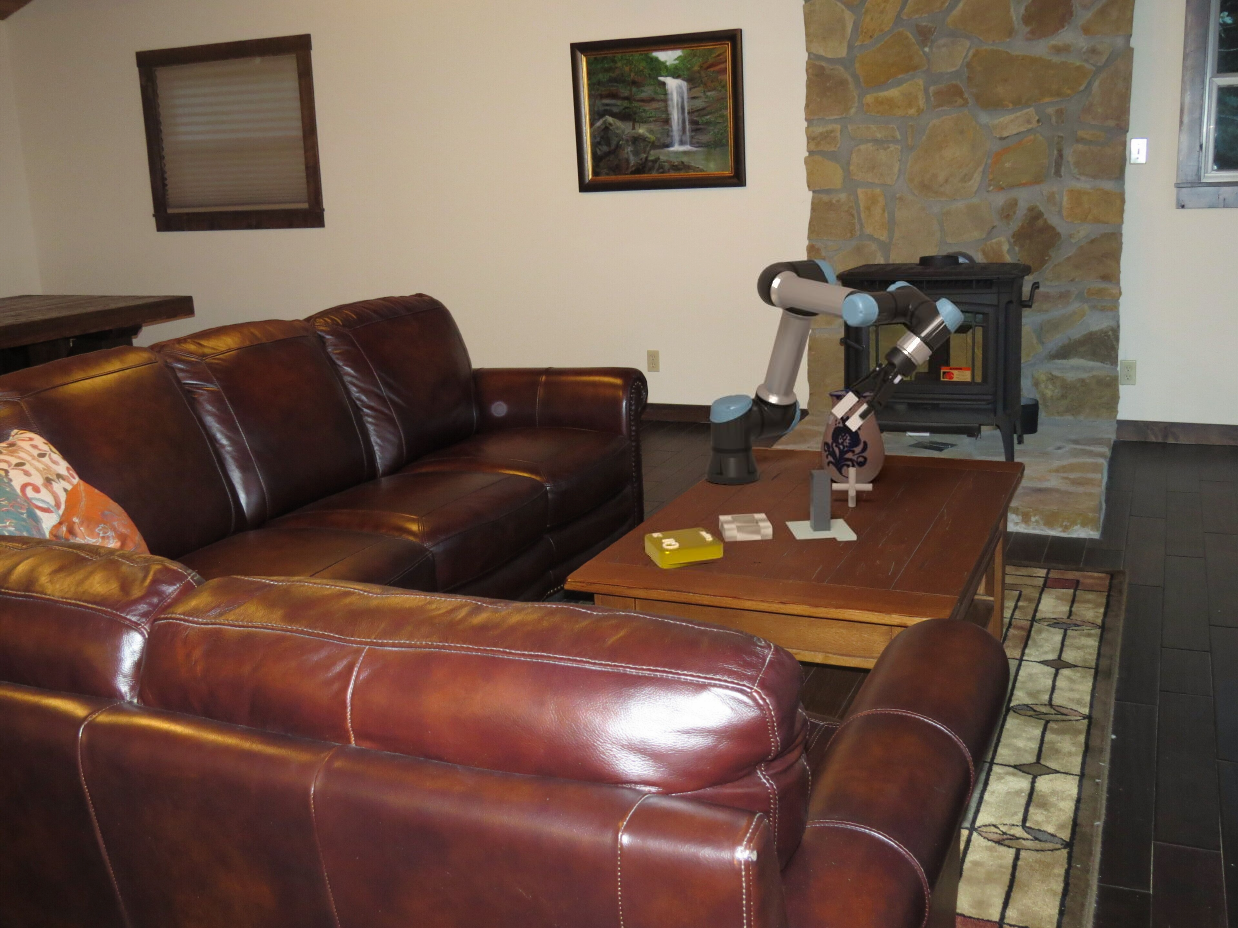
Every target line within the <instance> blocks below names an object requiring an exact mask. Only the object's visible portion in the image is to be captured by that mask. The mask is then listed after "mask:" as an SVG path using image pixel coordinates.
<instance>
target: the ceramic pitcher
mask: <svg viewBox="0 0 1238 928" xmlns="http://www.w3.org/2000/svg"><path fill="white" fill-rule="evenodd" d="M850 390H851V388H849V389H839V390H833V391H830V392H829V393H828V395H829V397H830V398H831V410H832V409H833V408H834V407H835V406H836V405H837V404H838V403H839V402H840V401H841V400H842V399H843V398H844V397H845V396H846V395H847V394H848V393H849V392H851V391H850ZM873 393H874V391H873V390H870V391H868V392H867V393H865V394H863V395H861V396H862V397H861V399H860V400H858V401H857V402H856V403H855V404H854V405H853V406H852V407H851V408H850V409H849V410H848V411H847V412H846V413H845V414H844V415H843V416H842V417H841V418H840V419H839V418H838V417H837V416H836V415H835V414H834V413H833V412H832V411H831V410H830V413H829V416H828V418H827V423H826V426H825V429H824V432H823V435H822V440H821V444H820V462H821V464H822V468H823V470H826V469H827V470H828V471H829V472H830V473H831V480H833V481H835V482H837V483H848V484H849V468H856V484H869V483H870V482H871V481H872V480H873V479H875V478H876V477H877V476H878V474H879V473H880V471H881V470H882V468H883V465H884V464H885V459H886V457H885V456H886V452H885V445H884V440H883V437H882V434H881V430H880V427H879V423H878V421H877V418H876V413H875V411H874V412H873V413H872V414H871V415H870V416H869V417H868V418H867V419H866V420H865V421H864V422H863V423H862V424H861V425H860V426H859V427H858V428H857V429H856V430H855V431H853V430H852V429H850V428H849V427H848V426H847V425H846V424H845V423H846V422H847V421H848V420H849V419H850V418H851V417H852V416H853V415H854V414H855V413H856V412H857V411H858V410H859V409H860V408H861V407H862V406H863V405H864V404H865V403H866V402H865V401H867V400H870V398H871V396H872V394H873ZM866 404H867V403H866ZM867 405H868V404H867Z"/></svg>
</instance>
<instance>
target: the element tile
mask: <svg viewBox="0 0 1238 928" xmlns="http://www.w3.org/2000/svg"><path fill="white" fill-rule="evenodd" d="M644 548H645V549H644V552H645V553H646V555H647V556H648V555H649V556H650V557H651V558H650V557H649V556H648V557H649V558H650V559H651V560H652V561H653V562H654V563H655V564H656V565H657V566H658V567H659V568H661V569H664V570H665V569H666V570H667V569H669V570H670V569H676V568H685V567H693V566H700V565H709V564H710V562H701V563H700V562H698V561H707V560H712V559H713V560H714V559H720V558H722V557H724V543H723V542H722V541H721V540H719V539H718V538H717V537H716V536H715V535H714V534H712V533H711V532H710V531H708V529H706V528H703V527H701V526H700V527H692V528H684V529H677V530H667V531H660V532H652V533H646V534H645V536H644ZM689 562H691V563H689ZM692 562H698V563H692ZM714 563H715V564H717V563H718V562H717V561H716V562H715V561H714V562H711V564H714Z"/></svg>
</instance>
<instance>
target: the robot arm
mask: <svg viewBox="0 0 1238 928" xmlns="http://www.w3.org/2000/svg"><path fill="white" fill-rule="evenodd" d="M756 290H757V294H758V296H759V297H760V300H761V301H763V302H764V303H765V304H766V305H768V306H770V307H774V308H775V307H776V308H778V309H781V311H782V313H781V316H780V320H779V324H778V328H777V332H776V336H775V339H774V343H773V347H772V351H771V354H770V358H769V361H768V366H767V369H766V373H765V376H764V381H763V383H761V384H759V385H757V387H756V389H755V390H756V391H755V393H754V394H755V395H754V397H751V396H749V395H748V394H733V395H731V394H730V395H726V396H722V397H719V398H717V399H715V400H714V401H713V402H712V403H711V405H710V414H709V420H710V446H711V447H710V449H711V454H710V456H709V461H708V463H707V467H706V470H705V480H706V479H708V480H706V481H707V482H709V481H710V482H709V483H711V482H713V483H712V484H715V483H718V484H717V485H723V484H726V486H727V485H729V486H733V485H734V486H736V485H746V484H747V485H748V484H751V483H754V482H756V481H759V479H760V471H759V468H758V467H759V466H758V464H757V461H756V458H755V455H754V453H753V440H759V439H764V438H769V437H773V436H774V437H779V436H783V435H785V434H788V433H790V432H792V431H793V430H795V428H796V427H797V426H798V424H799V422H800V419H801V409H800V407H801V406H800V405H801V404H800V402H799V400H798V398H797V394H796V393H795V391H794V388H795V386H796V382H797V378H798V374H799V371H800V367H801V364H802V360H803V356H804V353H805V349H806V346H807V342H808V339H809V337H810V336H809V335H810V331H811V328H812V325H813V322H814V319H815V318H818V317H819V316H820V315H825V316H829V317H833V318H837V319H841V320H844V322H846V323H847V325H848V326H851V327H855V328H856V327H857V328H859V327H861V328H862V327H863V328H865V327H870V326H876V325H881V324H890V323H891V324H892V323H899V322H905V323H906V324H907V325H909V326H910V327H911V328H910V330H908V331H907V332H905V334H904V335H903V336H902V337H901V338H900V339H899V340H898V341H897V342H896V345H897V346H893V347H891V348H890V349H889V350H888V351H887V352H886V354H885V355H884V357H883V359H884V360H885V361H887V363H885V365H884V364H883V363H882V362H879V363H878V364H877V365H876V366H875V367H874V368H872V370H870V371H869V372H868V373H866V374H865V375H863V376H862V377H861V378H859V379H858V380H857V381H855V382H854V383H852V384H851V385H850V387H849V389H850V391H851V392H849V393H848V394H847V395H846V396H845V397H844V398H843V399H842V400H841V401H840V402H839V403H838V404H837V405H836V406H835V407H834V408H833V409H832V408H831V409H832V410H830V412H831V411H832V412H833V413H834V414H835V415H836V416H837V417H838V418H839V419H840V418H841V417H842V416H843V415H844V414H845V413H846V412H847V411H848V410H849V409H850V408H851V407H852V406H853V405H854V404H855V403H856V402H857V401H858V400H860V399H861V397H862V396H861V395H863V394H865V393H867V392H868V391H873V389H874V391H873V392H874V393H873V394H872V396H871V398H870V400H867V401H865V402H866V403H867V404H868V405H867V404H866V403H865V404H864V405H863V406H862V407H861V408H860V409H859V410H858V411H857V412H856V413H855V414H854V415H853V416H852V417H851V418H850V419H849V420H848V421H847V422H846V423H845V424H846V425H847V426H848V427H849V428H850V429H852V430H853V431H855V430H856V429H857V428H858V427H859V426H860V425H861V424H862V423H863V422H864V421H865V420H866V419H867V418H868V417H869V416H870V415H871V414H872V413H873V412H874V413H875V412H877V411H878V412H880V411H882V409H884V407H885V406H886V404H887V403H888V401H889V400H890V399H891V397H892V396H893V394H894V393H895V391H896V390H897V389H898V387H899V386H900V385H901V384H902V383H903V381H904V378H906V379H908V378H909V377H910V376H912V374H913V373H914V372H915V371H916V370H918V366H920V365H922V364H923V363H924V362H925V361H928V360H929V359H930V356H931V355H932V354H933V353H934V352H935V350H937V348H939V346H941V344H943V343H944V342H946V340H947V339H948V338H949V337H950V336H951V335H952V334H954V333H955V331H956V330H957V329H958V328H959V327H960V326H961V324H962V323H963V322H964V320H965V315H964V314H963V313H962V311H961V310H960V309H959V308H958V307H957V306H956V305H955V304H954V303H953V302H951V301H950V300H949V299H947V298H944V297H941V298H940V299H939V300H937V301H936V302H935V301H933V300H932V299H930V298H929V297H927V296H926V295H925V294H924V293H923V292H921V291H920V290H919V289H918V288H917V287H915V286H913V285H911V284H910V283H909V282H906V281H904V280H900V281H896V282H895V283H893V284H891V285H889V287H888V288H887V289H886V290H883V291H876V292H875V291H873V292H872V291H871V292H870V291H869V292H868V291H864V290H859V289H856V288H855V289H854V288H852V287H845V286H841V285H838V281H837V276H836V275H835V270H834V269H833V267H832V266H831V264H829V262H827V261H826V260H824V259H813V258H808V259H805V260H804V259H802V260H791V261H779V262H775V263H771V264H769V265H768V266H766V267H765V268H764V269H763V270H762V271H761V272H760V274H759V276H758V278H757V283H756Z"/></svg>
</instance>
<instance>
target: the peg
mask: <svg viewBox="0 0 1238 928" xmlns="http://www.w3.org/2000/svg"><path fill="white" fill-rule="evenodd" d="M831 480H832V478H831V473H830V472H829V471H828V470H827V469H826V470H825V469H813V470H812V469H811V470H809V521H810V527H811V529H812V530H813V531H814V532H817V531H830V522H831V513H832V512H831V499H832V498H831V495H832V494H831V493H832V492H831V491H832V487H831V484H832V483H831V482H832V481H831Z"/></svg>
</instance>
